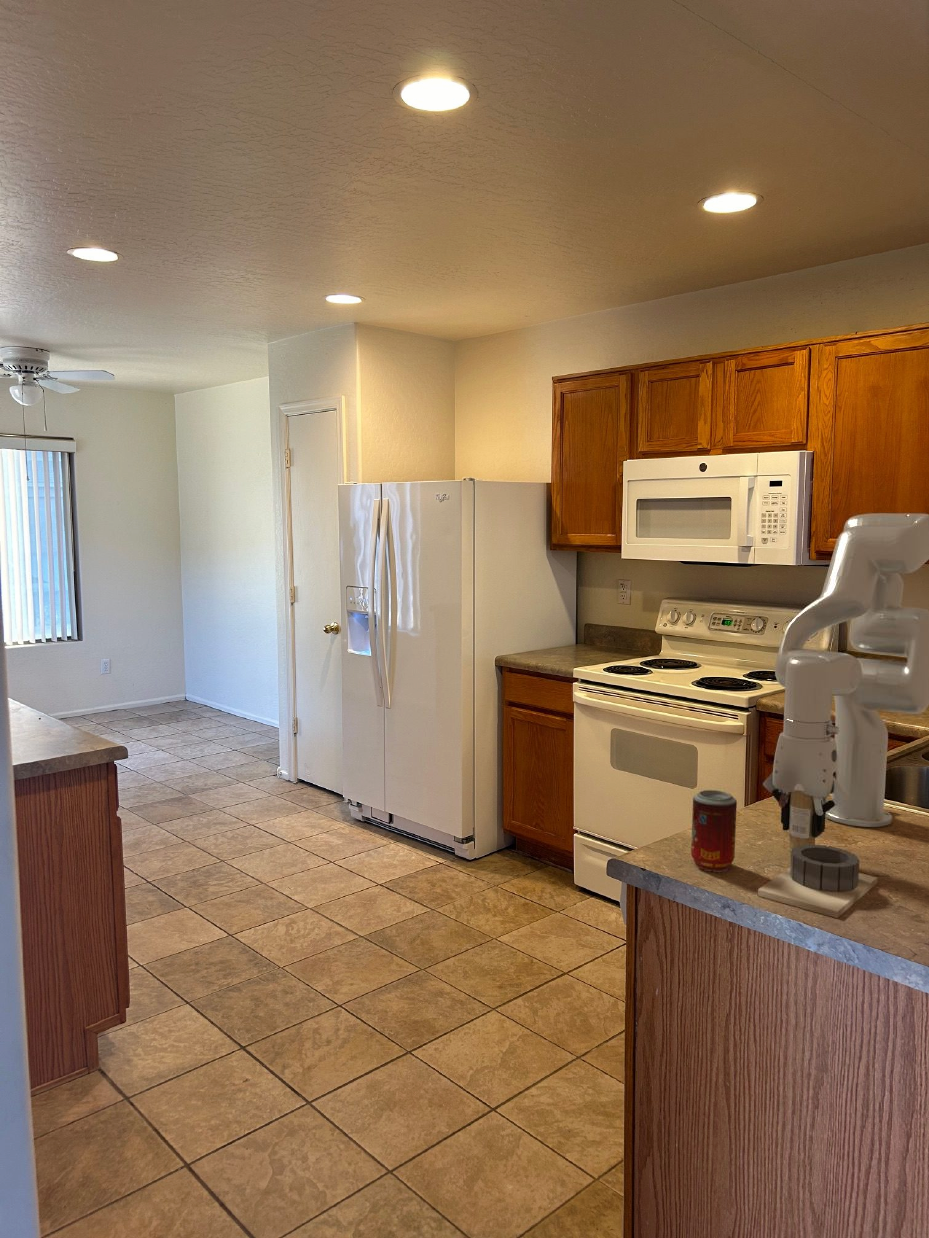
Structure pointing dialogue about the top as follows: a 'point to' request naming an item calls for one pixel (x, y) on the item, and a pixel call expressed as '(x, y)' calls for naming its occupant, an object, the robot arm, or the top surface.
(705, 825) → the soda can
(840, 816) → the robot arm
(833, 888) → the collar stand
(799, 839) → the sprinkles bottle
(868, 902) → the top surface
